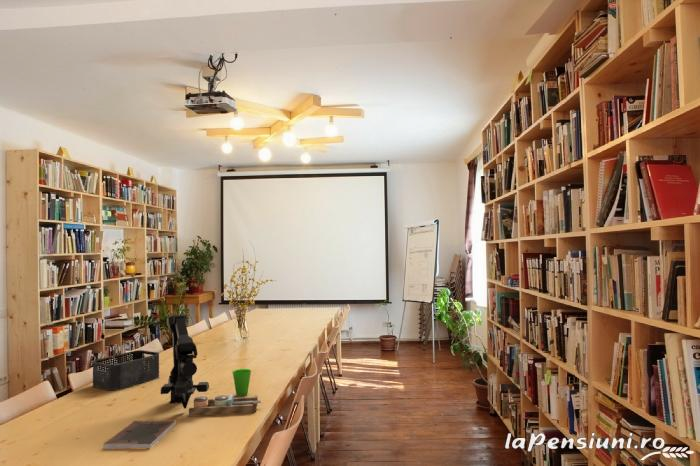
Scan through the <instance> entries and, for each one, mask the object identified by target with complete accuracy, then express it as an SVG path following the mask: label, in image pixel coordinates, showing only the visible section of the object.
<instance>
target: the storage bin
mask: <svg viewBox="0 0 700 466" xmlns="http://www.w3.org/2000/svg"><path fill="white" fill-rule="evenodd" d="M145 355H149V356H145ZM158 378H160V353H159V352H157V351H149V350H142V349H139V350H132V351H129V352H124V353H123V352H122V353H120V354H119V353H118V354H115V355H110V356H107V357H102V358H99V359H95V360H94V359H93V360H92V387H93V388H95V389H101V390H104V391H112V392H114V391H115V392H116V391H120V390H123V389H127V388H130V387H133V386H137V385H140V384H143V383H146V382H149V381H152V380H156V379H158Z"/></svg>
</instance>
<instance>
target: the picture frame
mask: <svg viewBox="0 0 700 466" xmlns="http://www.w3.org/2000/svg"><path fill="white" fill-rule="evenodd" d="M176 425H177V423H176V420H134V421H132V422H130V423H129V424H128V425H126V426H125V427H124V428H123V429H122V430H120V431H118V432H117V433H116V434H115V435H113V436H112V437H111V438H109V439H108V440H106V441H105V442H104V443H102V444H103V445H102V446H103V447H102V449H103V450H126V449H125V448H151V447H152V446H153V445H154V444H155V443H156V442H157V441H158V442H159V441H161V439H163V438H164V437H165V436H166V435H167V434H168V433H169V432H170V431H171V430H172V429H173V428H175V427H176ZM169 430H170V431H169ZM168 431H169V432H168ZM167 432H168V433H167ZM166 433H167V434H166ZM165 434H166V435H165ZM164 435H165V436H164ZM163 436H164V437H163ZM158 442H157V443H158ZM157 443H156V444H157ZM156 444H155V445H156ZM155 445H154V446H155ZM154 446H153V447H154ZM153 447H152V448H153ZM112 448H113V449H112ZM114 448H115V449H114ZM116 448H117V449H116ZM118 448H119V449H118ZM120 448H121V449H120ZM152 448H151V449H152Z"/></svg>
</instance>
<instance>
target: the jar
mask: <svg viewBox="0 0 700 466" xmlns="http://www.w3.org/2000/svg"><path fill="white" fill-rule="evenodd" d="M208 399H209V397H208V396H205V395H204V396H201V395H200V396H197V397H194V400H193V408H197V407H208Z"/></svg>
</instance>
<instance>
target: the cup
mask: <svg viewBox="0 0 700 466" xmlns="http://www.w3.org/2000/svg"><path fill="white" fill-rule="evenodd" d="M251 373H252V370H251V369H249V368H239V369H235V370H232V372H231V374H232V375H233V382H234V388H235V395H236V396H237V397H244V396H245V397H246V396H247V395H248V394H249V393H248V392H249V387H250V380H251V379H250V378H251Z"/></svg>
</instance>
